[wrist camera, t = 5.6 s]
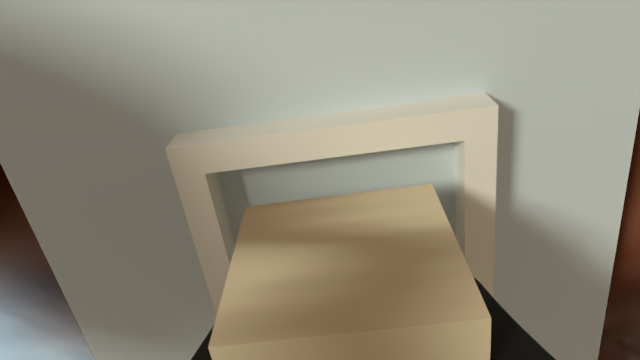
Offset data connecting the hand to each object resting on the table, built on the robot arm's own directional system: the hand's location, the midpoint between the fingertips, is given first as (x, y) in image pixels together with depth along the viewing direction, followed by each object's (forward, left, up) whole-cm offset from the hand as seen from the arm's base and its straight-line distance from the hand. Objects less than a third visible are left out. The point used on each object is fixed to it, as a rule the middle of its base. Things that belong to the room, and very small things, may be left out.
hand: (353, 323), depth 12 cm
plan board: (-1, +1, -5) cm, 5 cm away
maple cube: (0, 0, -2) cm, 2 cm away
